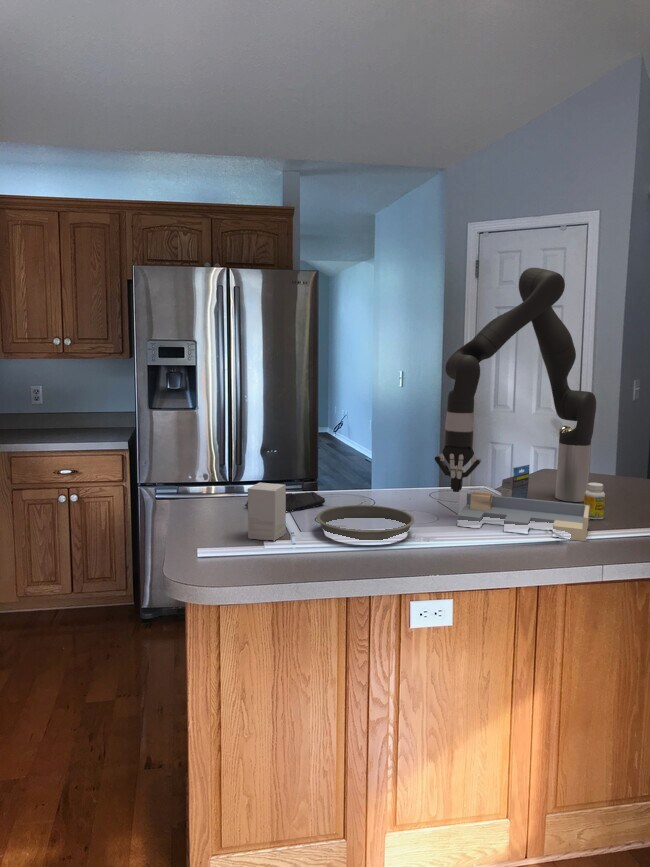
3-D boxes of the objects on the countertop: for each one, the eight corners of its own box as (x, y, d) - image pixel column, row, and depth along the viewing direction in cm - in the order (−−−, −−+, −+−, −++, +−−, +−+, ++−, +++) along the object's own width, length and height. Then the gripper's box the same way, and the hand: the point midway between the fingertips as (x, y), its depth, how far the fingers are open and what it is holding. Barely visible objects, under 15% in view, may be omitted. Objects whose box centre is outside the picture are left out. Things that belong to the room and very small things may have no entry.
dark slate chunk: (332, 509, 211) (332, 492, 210) (262, 518, 200) (262, 501, 199) (306, 497, 224) (306, 482, 223) (239, 505, 213) (239, 489, 212)
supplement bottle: (591, 514, 209) (593, 481, 207) (607, 518, 204) (610, 484, 203) (578, 516, 206) (581, 483, 204) (595, 521, 201) (597, 487, 200)
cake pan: (304, 524, 194) (304, 507, 193) (391, 518, 201) (391, 502, 201) (333, 552, 171) (334, 533, 170) (430, 544, 178) (431, 526, 177)
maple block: (473, 505, 204) (474, 491, 203) (491, 507, 202) (492, 493, 202) (470, 509, 199) (470, 495, 199) (488, 511, 198) (489, 496, 197)
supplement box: (286, 534, 184) (287, 484, 182) (274, 542, 177) (275, 490, 175) (259, 530, 186) (259, 481, 184) (246, 538, 179) (246, 487, 177)
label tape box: (515, 502, 221) (518, 462, 219) (527, 505, 218) (530, 464, 216) (499, 507, 215) (501, 465, 213) (511, 510, 212) (514, 468, 210)
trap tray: (466, 513, 206) (467, 492, 206) (587, 527, 195) (589, 505, 194) (456, 526, 194) (457, 504, 193) (585, 541, 182) (587, 517, 181)
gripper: (486, 428, 201) (482, 491, 203) (438, 425, 206) (435, 486, 208) (481, 432, 194) (478, 496, 196) (432, 428, 199) (429, 491, 201)
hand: (456, 491), depth 202 cm, fingers closed
